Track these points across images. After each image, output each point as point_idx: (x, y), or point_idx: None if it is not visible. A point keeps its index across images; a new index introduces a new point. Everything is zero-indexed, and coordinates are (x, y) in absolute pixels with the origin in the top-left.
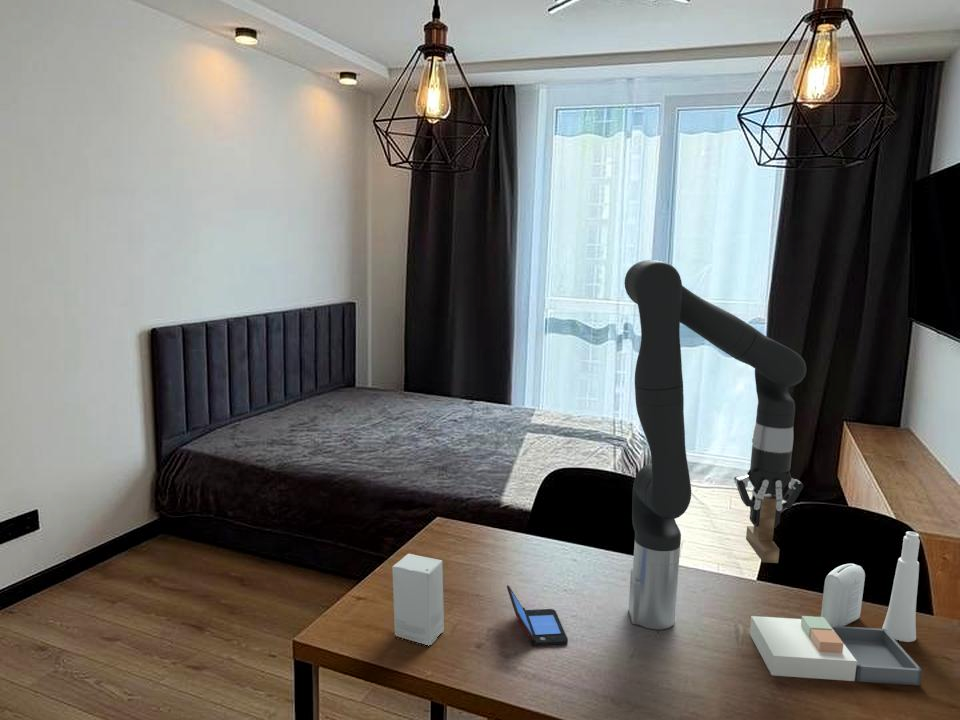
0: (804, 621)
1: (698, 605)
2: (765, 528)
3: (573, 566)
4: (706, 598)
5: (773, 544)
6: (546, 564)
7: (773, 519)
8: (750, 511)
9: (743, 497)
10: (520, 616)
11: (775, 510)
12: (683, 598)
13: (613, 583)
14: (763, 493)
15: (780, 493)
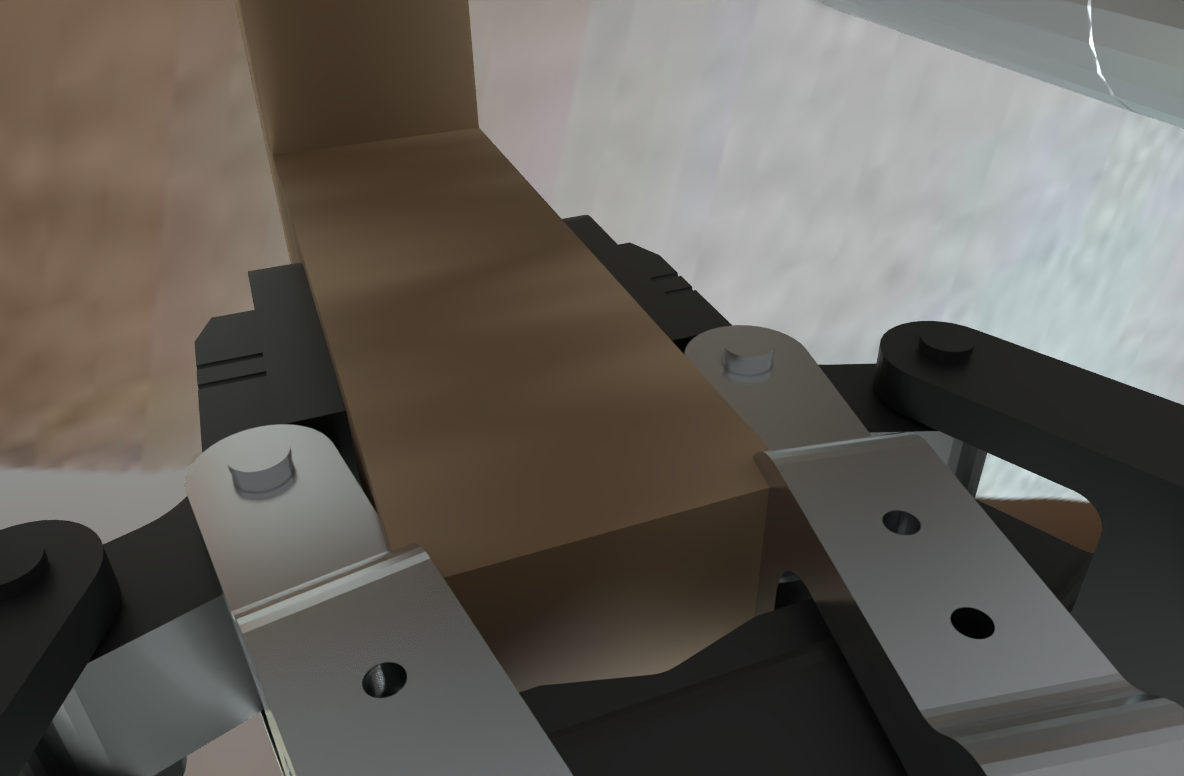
0: None
1: (601, 95)
2: (430, 201)
3: (1057, 323)
4: (539, 191)
5: (279, 10)
6: (1147, 305)
7: (340, 296)
8: None
9: (1138, 398)
10: None
11: (351, 395)
12: (665, 157)
13: (951, 219)
14: (883, 557)
15: (355, 756)
